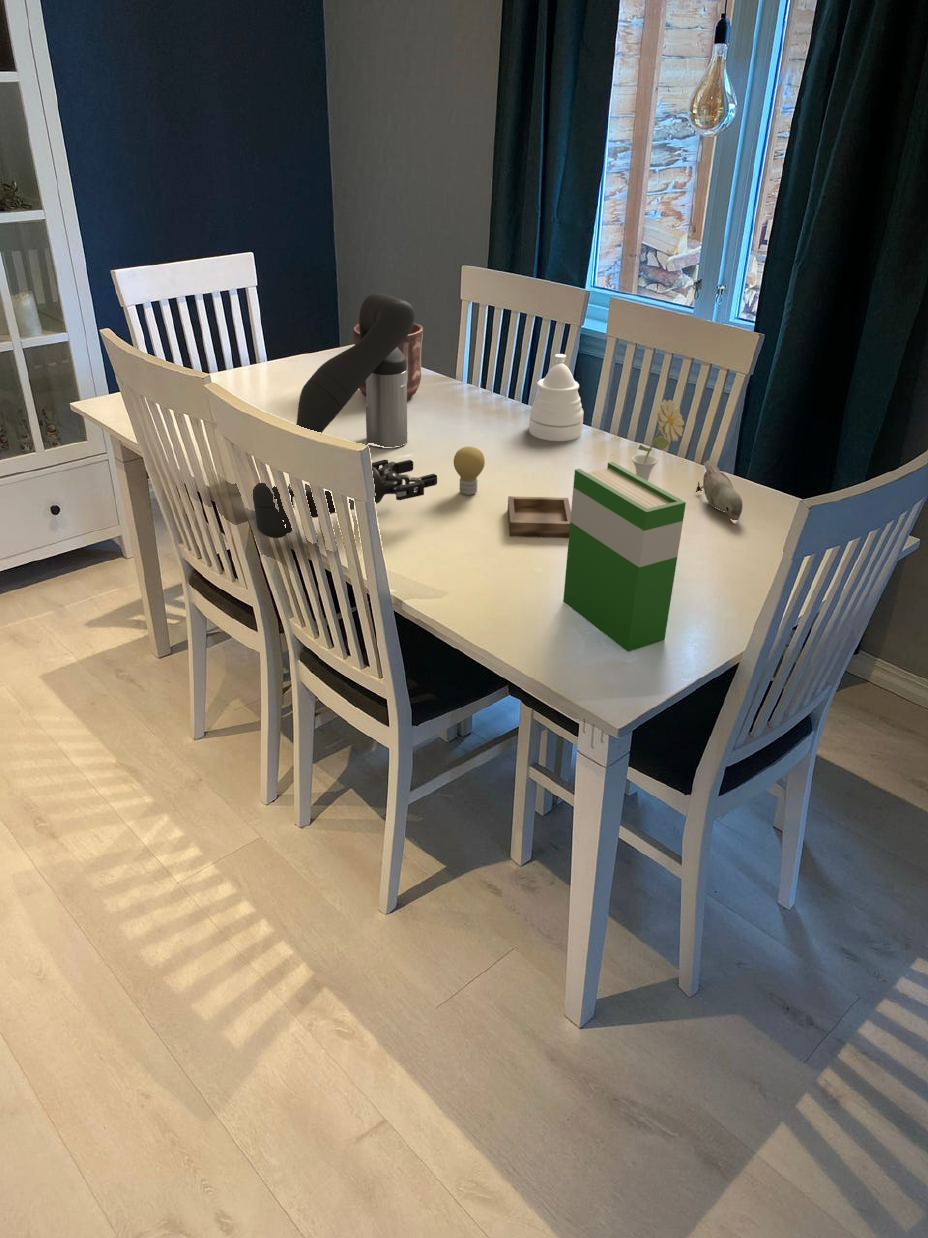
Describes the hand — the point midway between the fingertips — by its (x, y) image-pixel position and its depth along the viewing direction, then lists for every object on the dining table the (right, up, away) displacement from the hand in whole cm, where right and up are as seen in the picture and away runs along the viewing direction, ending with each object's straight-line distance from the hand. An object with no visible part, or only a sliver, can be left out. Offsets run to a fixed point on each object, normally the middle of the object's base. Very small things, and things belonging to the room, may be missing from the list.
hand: (424, 471), depth 192 cm
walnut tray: (+23, -11, -2) cm, 25 cm away
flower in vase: (+43, -11, -1) cm, 44 cm away
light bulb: (+9, -3, +10) cm, 14 cm away
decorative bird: (+60, -7, +6) cm, 61 cm away
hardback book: (+32, -30, -33) cm, 55 cm away
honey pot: (+30, +16, +42) cm, 54 cm away
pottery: (-12, +29, +62) cm, 69 cm away
